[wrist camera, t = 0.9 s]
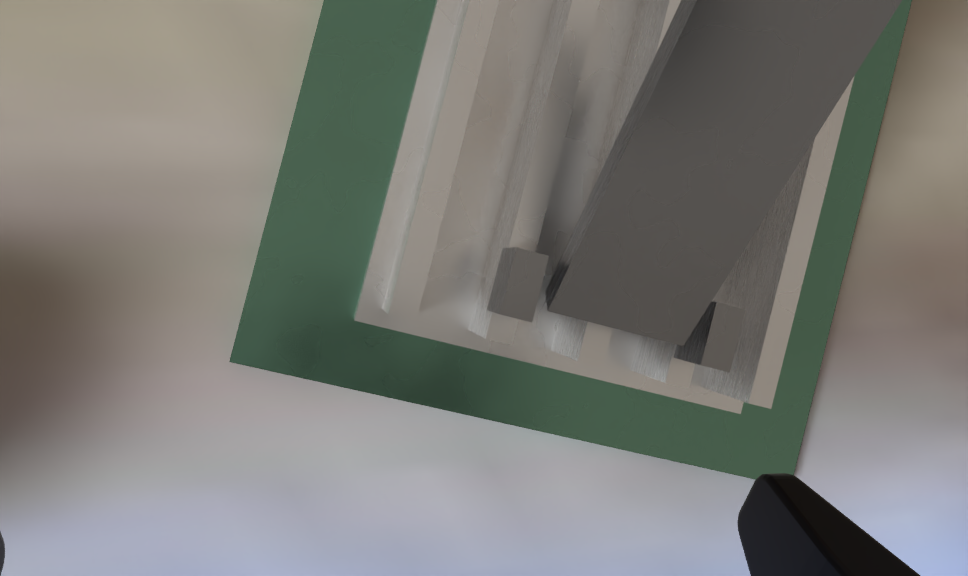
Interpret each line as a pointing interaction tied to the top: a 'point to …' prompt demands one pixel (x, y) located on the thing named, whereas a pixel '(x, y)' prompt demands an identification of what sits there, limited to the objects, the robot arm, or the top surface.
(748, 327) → the green railed baseplate
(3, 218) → the top surface
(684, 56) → the wood block
